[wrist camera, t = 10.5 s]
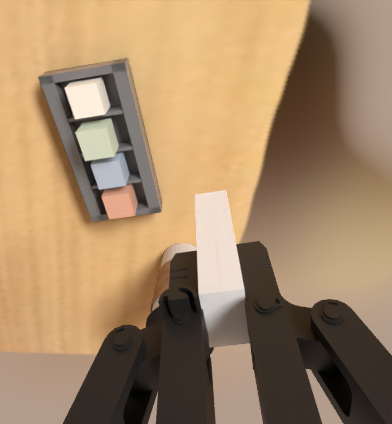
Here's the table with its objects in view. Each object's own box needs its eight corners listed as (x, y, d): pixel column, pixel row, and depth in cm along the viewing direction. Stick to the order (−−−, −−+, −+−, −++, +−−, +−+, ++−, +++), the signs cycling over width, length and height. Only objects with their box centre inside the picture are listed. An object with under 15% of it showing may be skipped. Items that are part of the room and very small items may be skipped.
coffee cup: (172, 287, 56) (167, 375, 44) (142, 249, 52) (128, 335, 40) (220, 267, 54) (231, 354, 42) (194, 226, 50) (197, 308, 38)
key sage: (82, 122, 40) (75, 132, 37) (111, 118, 39) (105, 127, 37) (91, 150, 41) (85, 161, 39) (118, 145, 41) (114, 156, 39)
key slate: (96, 153, 43) (90, 164, 40) (122, 149, 43) (118, 160, 40) (104, 177, 44) (99, 189, 42) (129, 173, 44) (126, 185, 42)
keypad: (46, 71, 39) (38, 77, 37) (128, 57, 38) (124, 62, 36) (96, 211, 49) (92, 221, 46) (162, 201, 48) (161, 212, 46)
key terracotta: (106, 184, 45) (101, 197, 42) (131, 181, 45) (128, 193, 42) (113, 206, 47) (109, 219, 44) (137, 203, 47) (134, 215, 44)
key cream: (72, 80, 38) (64, 87, 36) (101, 75, 38) (95, 82, 36) (82, 110, 40) (75, 119, 37) (110, 106, 40) (105, 114, 37)
